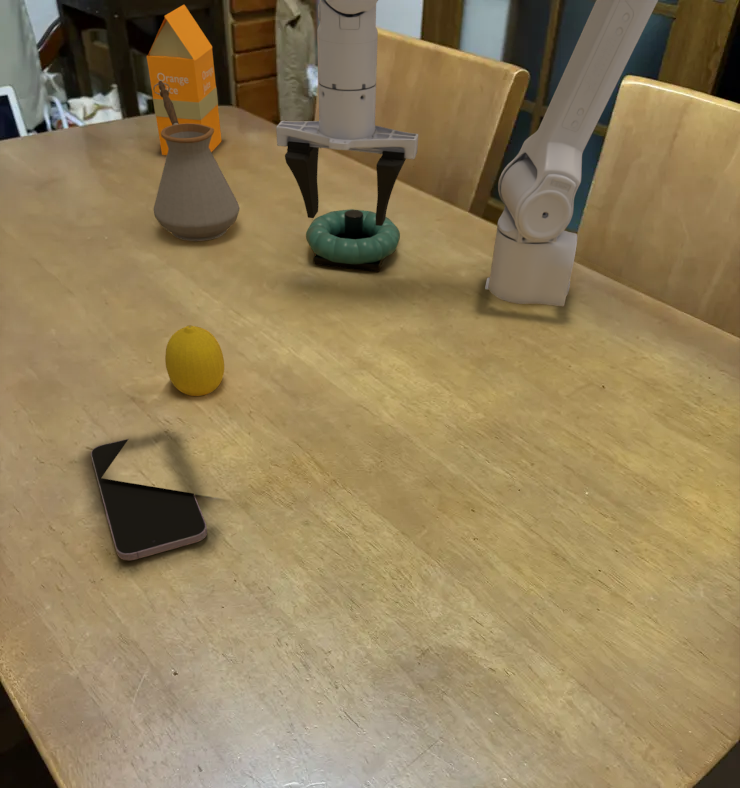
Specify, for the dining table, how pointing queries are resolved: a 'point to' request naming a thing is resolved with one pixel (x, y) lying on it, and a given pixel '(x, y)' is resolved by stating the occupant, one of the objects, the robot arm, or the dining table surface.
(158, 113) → the orange juice
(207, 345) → the lemon
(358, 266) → the peg stand
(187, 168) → the coffee pot
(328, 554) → the dining table surface
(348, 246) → the hoop
